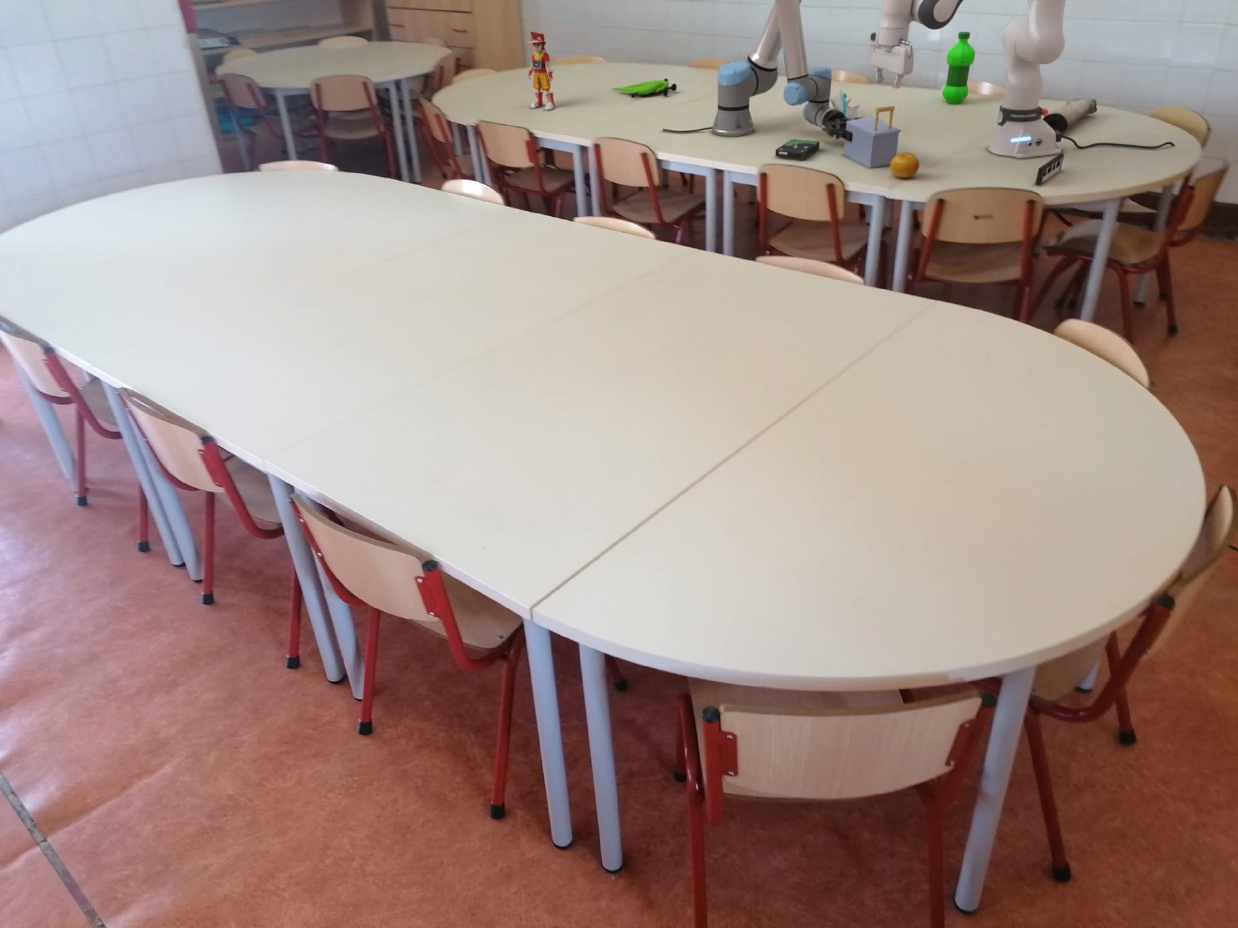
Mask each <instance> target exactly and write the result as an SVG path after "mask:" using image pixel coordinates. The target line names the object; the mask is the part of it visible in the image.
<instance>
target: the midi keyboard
mask: <svg viewBox="0 0 1238 928" xmlns="http://www.w3.org/2000/svg"><path fill="white" fill-rule="evenodd" d="M1064 157H1065V153H1059V154H1057V155H1056V156H1055V157H1052V159H1051V160H1049V161H1047V162H1045V164H1042V165H1041V166H1039V167H1038V169H1037V175H1036V179H1035V186H1040V185H1042V183H1044V182H1045V181H1047V180H1048V179H1049V178H1051V177H1052V176H1054V175H1055V174H1056V173H1058V172H1060V171H1061V170H1062V165H1063V161H1064Z"/></svg>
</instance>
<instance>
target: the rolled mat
mask: <svg viewBox="0 0 1238 928" xmlns="http://www.w3.org/2000/svg"><path fill="white" fill-rule="evenodd" d="M1097 106H1098V105H1097V100H1096V99H1095V98H1089V97H1084V98H1077V99H1071V100H1069V101H1067V102H1066V104H1065V105H1063V106H1061V107H1059V108H1057V109H1055V110H1053V111H1052V112H1049V113H1048V114H1047V116H1043V117H1042V119H1043V120H1044V121H1045V122H1046V123H1047V124H1048V125H1049V126H1050V127H1051V128H1052V129H1053V130H1058V131H1059V132H1061V133H1062V135H1063V134H1065V133H1066V132H1067V131H1068V130H1069V129H1070V128H1071V127H1072V126H1073V125H1074V124H1075V123H1076V122H1077V121H1079V120H1080V119H1081V118H1082V117H1084V116H1086V115H1092V114H1095V113H1096V112H1097V111H1098V108H1097Z"/></svg>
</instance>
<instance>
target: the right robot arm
mask: <svg viewBox="0 0 1238 928" xmlns="http://www.w3.org/2000/svg"><path fill="white" fill-rule="evenodd" d="M963 1H964V0H881V7H880V15H881V20H880V23H879V26H878V30H877V29H876V30H875V31H872V32H870V33H869V38H868V39H869V44H868V52H867V61H868V64H869V65H870V66H873V67H874V72H875V76H876V78H875V82H876V83H879V84H880V83H883V82H884V79H885V76H884V75H883V70H885V71H887V72H891V73H894V74H895V75H894V76H895V79H894V81H892V88H893V89H896V90H897V89H900V88H901V82H902V81H903V79H904V77H905V76H906V75H907V76H908V75H911V74H912V73H913V71H914V62H915V61H914V60H915V58H914V57H915V53H914V48H913V46H912V44H911V41H909V34H910V33H909V32H910V25H911V23H912V22H916V23H918V24H920V25H923V26H924V27H926V28H927V29H929V30H933V31H934V30H940V29H943V28H945V27H946V26H948V25H949V24H950V22H951V21H952V20H953V18H954V17H955V15H956V13H957V11H958V10H959V7H960V5H962V3H963ZM1066 2H1067V0H1027V4H1028V18H1024V19H1017V20H1014V21H1012V22H1010V23H1009V24H1008V25H1007V26H1006V27H1005V28H1004V29H1003V32H1002V35H1001V45H1002V48H1003V52H1004V59H1005V61H1004V62H1005V83H1004V90H1003V96H1002V102H1001V104H1000V105H999V110H998V113H997V122H996V123H997V124H996V128H995V132H994V135H993V137H992V140H991V143H990V145H989V147H988V151H989V152H991V153H993V154H995V155H1000V156H1004V157H1013V158H1016V159H1028V158H1035V157H1043V156H1051V155H1059V154H1062V147H1061V145H1059V144H1058V143H1061V142H1062V139H1064V140H1068V141H1070V142H1072V143H1073V145H1074V146H1075V147H1076V148H1077V149H1080V150H1083V149H1088V148H1092V147H1095V146H1113V147H1114V146H1115V147H1125V148H1126V147H1127V148H1136V149H1146V150H1147V149H1148V150H1149V149H1150V150H1151V149H1152V150H1153V149H1154V150H1155V149H1159V148H1163V147H1164V146H1167V145H1170V146H1171V147H1176V145H1175V143H1174V142H1172V141H1167V142H1164V143H1162V144H1159V145H1148V146H1147V145H1138V144H1128V143H1118V142H1117V143H1115V142H1095V143H1091V144H1088V145H1085V146H1082V145H1079V144H1078V143H1077V141H1076V140H1075V139H1074V138H1072V137H1070V136H1066V135H1063V134H1062V133H1061V132H1059V131H1058V130H1053V129H1052V128H1051V127H1050V126H1049V125H1048V124H1047V123H1046V122H1045V121H1044V120H1043V117H1045V116H1047V115H1048V114H1050V111H1049V109H1047V108H1043V107H1041V106H1039V104H1040V98H1041V94H1042V88H1043V85H1044V79H1043V76H1042V73H1041V67H1040V65H1049V64H1051V63H1053V62H1055V61H1057V60H1058V59H1059V58H1060V56H1061V55H1062V54H1063V52H1064V49H1065V47H1066V39H1065V36H1064V33H1063V27H1064V26H1063V25H1064V14H1065V6H1066ZM1042 116H1043V117H1042Z"/></svg>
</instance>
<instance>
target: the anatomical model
mask: <svg viewBox="0 0 1238 928" xmlns="http://www.w3.org/2000/svg"><path fill="white" fill-rule="evenodd" d="M847 97H848V95H847V92H845V91H844V90H842V89H841V90H839V93H837V95H833V96H830V103H831V106H832V108H834V109H836V110H838V111H841V112H842V113H844V115H845V117H846V118H848V119H852V120H854V118H859V119H864V115H863V114H859V113H858V110H859V108H860V106H861V104H856V105H854V106H850V105H849V104H850V102H851V101H852V98H848V99H847Z"/></svg>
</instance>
